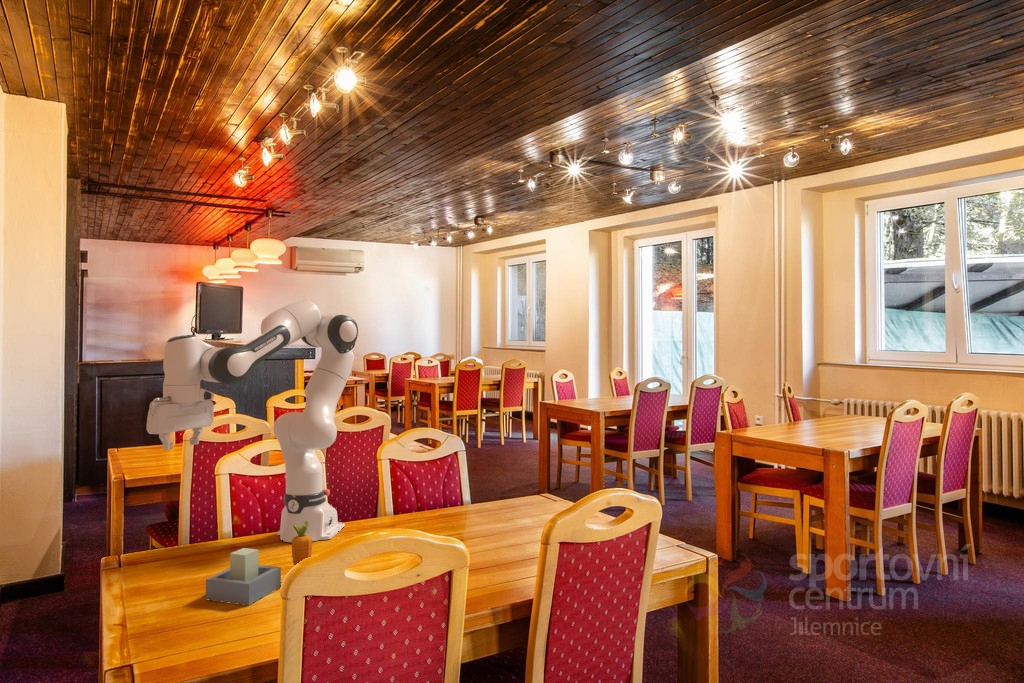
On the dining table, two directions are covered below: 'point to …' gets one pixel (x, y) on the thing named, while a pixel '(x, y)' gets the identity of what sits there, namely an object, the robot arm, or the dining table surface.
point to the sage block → (244, 564)
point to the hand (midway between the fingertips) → (181, 447)
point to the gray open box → (243, 586)
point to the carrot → (301, 544)
